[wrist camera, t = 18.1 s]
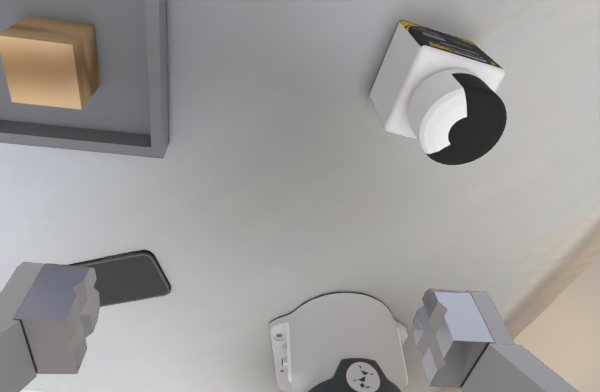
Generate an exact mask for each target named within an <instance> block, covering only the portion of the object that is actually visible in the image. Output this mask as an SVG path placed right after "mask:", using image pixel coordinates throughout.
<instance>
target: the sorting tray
mask: <svg viewBox="0 0 600 392" xmlns="http://www.w3.org/2000/svg"><path fill="white" fill-rule="evenodd" d="M27 16H31V17H38V18H46V19H54V20H61V21H69V22H76V23H84V24H91V25H95V34H96V43H97V53H98V62H99V71H100V80H101V85H100V86H99V88H98V89H97V90H96V92H95V93H94V94H93V95H92V97H91V98H90V99H89V101H88V102H87V103H86V104H85V106H84V107H83V108H82V110H81V109H71V108H62V107H53V106H44V105H34V104H25V103H16V102H12V101H11V96H10V92H9V88H8V84H7V79H6V75H5V71H4V66H3V62H2V58H1V53H0V143H10V144H20V145H30V146H41V147H51V148H61V149H72V150H82V151H92V152H103V153H113V154H123V155H134V156H144V157H154V158H163V157H164V155H165V152H166V149H167V146H168V143H169V115H168V62H167V8H166V0H0V33H1V32H2V31H4V30H5V29H7V28H9V27H10V26H12V25H14V24H15V23H17V22H18V21H20V20H22V19H23V18H25V17H27Z"/></svg>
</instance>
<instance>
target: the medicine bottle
mask: <svg viewBox="0 0 600 392" xmlns="http://www.w3.org/2000/svg"><path fill="white" fill-rule="evenodd" d="M504 76H505V70H504V69H503V68H501V67H500V66H499V65H498V64H497V63H496V62H494V61H493V60H492V59H491V58H490V57H489V56H487V55H486V54H485V53H484V52H483V51H482V50H480V49H479V48H478V47H477V46H476V45H475V44H473V43H472V42H469V41H466V40H463V39H460V38H457V37H453V36H450V35H447V34H444V33H441V32H438V31H434V30H431V29H428V28H425V27H422V26H418V25H415V24H412V23H409V22H406V21H401V22H399V24H398V26H397V29H396V31H395V33H394V36H393V38H392V41H391V43H390V46H389V48H388V51H387V53H386V55H385V58H384V60H383V63H382V65H381V68H380V70H379V72H378V75H377V77H376V80H375V82H374V85H373V87H372V90H371V92H370V98H371V100H372V102H373V105H374V107H375V109H376V112H377V114H378V116H379V118H380V121H381V123H382V125H383V127H384V129H385V131H387V132H390V133H394V134H397V135H401V136H405V137H409V138H413V139H417V140H418V141H419V143H420V145H421V147H422V149H423V150H424V152H425V153H426V154H427V155H428V156H429V157H430V158H431V159H433V160H434V161H436V162H439V163H442V164H447V165H459V164H464V163H468V162H471V161H474V160H476V159H478V158H480V157H481V156H483V155H484V154H486V153H487V152H488V151H489V150H491V149H492V148H493V146H494V145H495V144H496V143H497V142H498V140H499V139H500V137H501V135H502V133H503V131H504V129H505V125H506V119H507V116H506V109H505V106H504V103H503V102H502V100H501V99H500V97H499V96H498V95H497V94H496V93H495V92H496V90H497V88H498V86H499V85H500V83H501V81H502V79H503V78H504Z"/></svg>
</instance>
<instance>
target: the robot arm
mask: <svg viewBox="0 0 600 392" xmlns="http://www.w3.org/2000/svg"><path fill="white" fill-rule="evenodd" d="M96 279H97V278H96V273H95V269H94V268H92V267H81V266H70V265H58V264H43V263H31V262H23V263H22V264H20V265H19V266H18V267H17V268H16V270H15V271H14V273H13V274H12V276H11V278H10V279H9V281H8V282H7V284H6V285H5V287H4V289H3V290H2V292H1V293H0V392H20V391H21V390H22V389H23V388H24V387H25V386H26V385H27V384H28V383H30V382H31V381H32V380H33V379H34V378H35V377H36V376H37V375H36V374H77V373H78V371H79V368H80V365H81V363H82V360H83V358H84V355H85V352H86V350H87V345H86V340H85V338H86V337H87V336H88V335H90V334H91V333H92V332H93V331H94V328H95V325H96V323H97V319H98V314H99V307H100V298H99V292H98V291H97V290H96V289H95V288H93V287H94V284H95V282H96ZM423 302H424V305H425V306H423V307H422V308H420V309H419V310H417V312H416V315H415V317H414V320H413V336H414V341H415V344H416V347H417V348H418V349H419V350H420V351H421V352H422V353H423V354H424V357H423V359H422V361H421V364H422V367H423V370H424V373H425V376H426V379H427V382H428V386H436V387H452V388H461V391H462V392H579V391H577V390H576V389H575V388H574V387H572V386H571V385H570V384H569V383H567V382H566V381H565V380H564V379H563V378H561V377H560V376H559V375H558V374H556V373H555V372H554V371H553V370H551V369H550V368H549V367H548V366H546V365H545V364H544V363H543V362H541V361H540V360H539V359H538V358H536V357H535V356H534V355H533V354H532V353H530V352H529V351H528V350H526V349H525V348H524V347H523V346H522V345H516V344H515V343H514V341H513V339H512V337H511V335H510V333H509V331H508V330H507V328H506V326H505V324H504V322H503V320H502V318H501V316H500V314H499V312H498V311H497V309H496V307H495V305H494V303H493V301H492V299H491V297H490V296H489V295H488V294H487V293H486V292H477V291H461V290H442V289H429V290H427V291H426V292H425V294H424V296H423ZM269 327H270V335H271V342H272V350H273V358H274V365H275V373H276V381H277V387H278V389H280V390H282V391H284V392H403V391H404V389H405V387H406V386H407V385H408V375H407V370H406V364H405V359H404V354H403V349H402V344H403V343H404V342H405V340H406V339H407V338H408V332H407V328H406V327H405V326H404V325H402V324H401V323H399V322H397V321H395V319H394V318H393V317H392V315H391V313H390V311H389V310H388V308H387V307H386V306H385V305H384V304H382V303H381V302H380V301H378V300H376V299H374V298H372V297H369V296H366V295H362V294H356V293H336V294H330V295H325V296H321V297H318V298H316V299H313V300H311V301H309V302H307V303H305V304H304V305H302V306H301V307H299V308H298V309H297V310H295V311H294V312H293V313H291V314H289V315H287V316H284V317H281V318H278V319H276V320H274V321H272V322H271V323H270V326H269Z"/></svg>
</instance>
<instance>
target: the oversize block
mask: <svg viewBox="0 0 600 392" xmlns="http://www.w3.org/2000/svg"><path fill="white" fill-rule="evenodd" d="M0 53H1V58H2V62H3V66H4V71H5V75H6V79H7V84H8V88H9V92H10V96H11V101H12V102H16V103H25V104H34V105H44V106H53V107H62V108H71V109H81V110H82V108H83V107H84V106H85V104H86V103H87V102H88V101H89V99H90V98H91V97H92V95H93V94H94V93H95V92H96V90H97V89H98V88H99V86H100V85H101V80H100V71H99V62H98V53H97V43H96V34H95V25H91V24H84V23H76V22H69V21H61V20H54V19H46V18H38V17H31V16H27V17H25V18H23V19H22V20H20V21H18V22H17V23H15V24H14V25H12V26H10V27H9V28H7V29H5V30H4V31H2V32H1V33H0Z"/></svg>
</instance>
